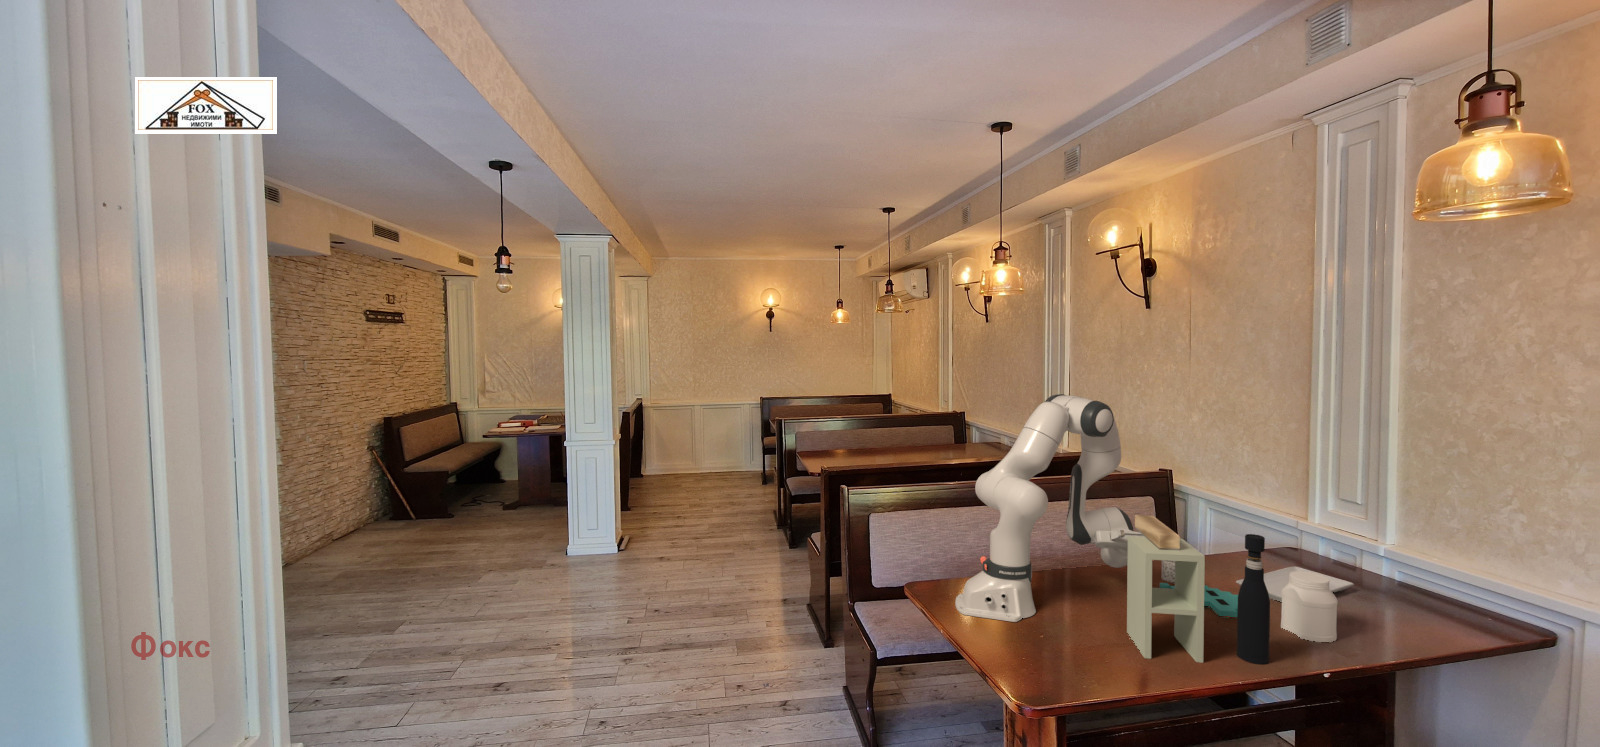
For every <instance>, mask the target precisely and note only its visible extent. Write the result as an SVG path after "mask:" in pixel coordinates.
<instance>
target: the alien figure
mask: <svg viewBox="0 0 1600 747" xmlns="http://www.w3.org/2000/svg"><path fill="white" fill-rule="evenodd" d="M1159 588H1168V589H1175V585H1170V584H1169V582H1159ZM1204 606H1210V607H1211V608H1212V609H1213V610H1214V611H1215V612H1216V613H1217V614H1218V615H1219V616H1230V617H1237V612H1238V594H1233V593H1232V592H1230V591H1223V590H1220V589H1219V588H1217V587H1216V588H1214V587H1210V586H1208V585H1205V584H1204ZM1210 607H1209V608H1210ZM1211 608H1210V609H1211ZM1212 609H1211V610H1212ZM1213 610H1212V611H1213ZM1214 611H1213V612H1214ZM1215 612H1214V613H1215ZM1216 613H1215V614H1216ZM1217 614H1216V615H1217ZM1218 615H1217V616H1218ZM1219 616H1218V617H1219Z"/></svg>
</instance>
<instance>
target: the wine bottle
mask: <svg viewBox="0 0 1600 747" xmlns="http://www.w3.org/2000/svg"><path fill="white" fill-rule="evenodd" d="M1265 540H1266V538H1265V537H1264V536H1263V535H1260V534H1255V533H1254V534H1253V533H1249V534H1247V533H1246V534H1245V536H1244V548H1245V550H1247V557H1248V558H1246V561H1245V562H1246V565H1245V566H1244V578H1243V579H1244V580H1243V582H1242V584H1241V586H1240V587H1239V591H1238V594H1237V595H1238V612H1237V618H1236V619H1237V623H1236V625H1237V626H1236V627H1237V628H1236V630H1237V631H1236V656H1237V657H1238V658H1239V659H1240V660H1243V661H1245V662H1247V663H1250V664H1255V665H1267V664H1269V662H1270V634H1271V632H1270V630H1271V629H1270V628H1271V624H1270V622H1271V620H1270V619H1271V601H1270V600H1271V599H1269V594H1268V591H1267V588H1266V585H1265V582H1264V573H1265V569H1264V568H1263V567H1264V566H1263V563H1264V562H1263V560H1261V559H1262V553H1263V552H1265V544H1266V541H1265Z"/></svg>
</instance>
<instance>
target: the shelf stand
mask: <svg viewBox="0 0 1600 747" xmlns="http://www.w3.org/2000/svg"><path fill="white" fill-rule="evenodd" d="M1205 558H1206V557H1205V555H1204V554H1203V553H1201V552H1200V551H1199V550H1198V549H1197V548H1195V547H1193V545H1191V544H1189V543H1188V542H1187V541H1186V540H1184V539H1183V538H1181V537H1180V550H1159V549H1158V548H1157V547H1156V546H1155V545H1154V544H1153V543H1151V542H1150V541H1149V540H1148V539H1147V538H1146V537H1133V536H1128V563H1127V565H1126V566H1127V571H1126V572H1127V573H1126V574H1127V578H1126V579H1127V580H1126V582H1127V584H1126V586H1127V587H1126V588H1127V590H1126V591H1127V592H1126V603H1127V604H1126V633H1128V634H1129V635H1128V634H1127V635H1128V637H1129V636H1130V637H1131V638H1130V637H1129V638H1130V640H1131V641H1132V640H1133V641H1134V642H1133V641H1132V642H1133V644H1134V643H1135V644H1134V645H1135V647H1136V646H1137V647H1136V648H1137V650H1138V649H1139V650H1140V651H1139V650H1138V651H1139V652H1140V654H1141V655H1142V657H1143V658H1144V659H1152V625H1153V624H1152V614H1164V615H1167V614H1168V615H1174V620H1173V621H1174V627H1173V628H1174V629H1173V630H1174V631H1173V633H1174V634H1173V635H1174V638H1175V639H1176V640H1177V641H1178V643H1180V646H1182V647H1183V648H1184V649H1185V650H1186V652H1187V653H1188V654H1189V655H1190V657H1191V658H1192V659H1193V660H1194V661H1195V663H1200V664H1201V663H1203V664H1204V647H1205V646H1204V644H1205V643H1204V641H1205V640H1204V638H1205V637H1204V636H1205V635H1204V634H1205V633H1204V632H1205V631H1204V630H1205V629H1204V628H1205V623H1204V622H1205V607H1204V585H1205V572H1206V571H1205V570H1206V569H1205V567H1206V566H1205V564H1206V563H1205V560H1206V559H1205ZM1162 560H1169V561H1175V583H1174V586H1175V589H1168V588H1160V587H1153V561H1162Z"/></svg>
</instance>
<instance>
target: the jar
mask: <svg viewBox="0 0 1600 747" xmlns="http://www.w3.org/2000/svg"><path fill="white" fill-rule="evenodd" d="M1289 577H1290V578H1289V579H1290V580H1289V583H1288V584H1287V585H1286V586H1285V587H1284V588H1283V589H1282V590H1281V595H1282V603H1281V614H1280V615H1281V616H1280V617H1281V621H1280V628H1281V629H1282V628H1283V629H1282V630H1284V629H1285V630H1284V631H1286V630H1288V631H1287V632H1289V631H1290V632H1289V633H1291V632H1292V633H1291V634H1293V633H1294V634H1296V635H1297V636H1298V637H1297V636H1296V635H1295V636H1296V637H1297V638H1299V637H1300V638H1299V639H1301V640H1303V639H1305V640H1304V641H1307V640H1309V641H1308V642H1313V641H1315V642H1314V643H1321V642H1329V643H1333V641H1334V642H1335V641H1336V640H1337V638H1338V637H1337V636H1338V633H1337V620H1338V618H1337V617H1338V616H1337V614H1338V613H1337V611H1338V598H1337V597H1336V595H1335V594H1334V593H1332V592H1331V590H1330V589H1329V587H1330V586H1329V585H1330V584H1329V582H1330V581H1329V579H1328V578H1326V577H1324V576H1322V575H1318V574H1314V573H1309V572H1300V571H1296V572H1291V573H1290V576H1289ZM1294 634H1293V635H1294Z"/></svg>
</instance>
